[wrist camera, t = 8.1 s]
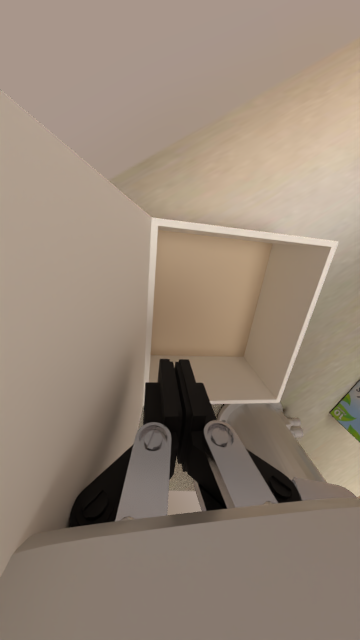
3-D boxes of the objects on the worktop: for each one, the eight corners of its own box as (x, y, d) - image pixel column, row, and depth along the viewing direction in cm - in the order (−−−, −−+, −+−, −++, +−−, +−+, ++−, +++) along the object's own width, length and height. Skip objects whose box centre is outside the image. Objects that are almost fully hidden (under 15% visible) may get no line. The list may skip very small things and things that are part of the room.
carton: (273, 239, 27) (338, 241, 17) (243, 356, 33) (279, 402, 24) (151, 224, 24) (151, 217, 15) (145, 355, 31) (142, 405, 21)
